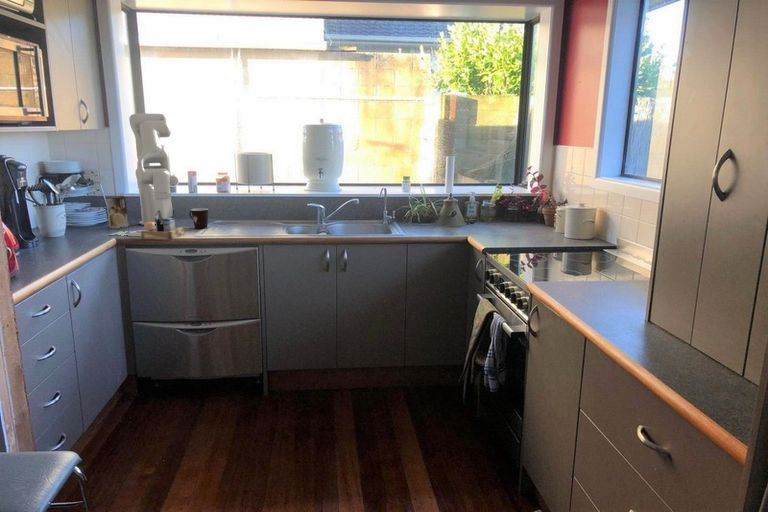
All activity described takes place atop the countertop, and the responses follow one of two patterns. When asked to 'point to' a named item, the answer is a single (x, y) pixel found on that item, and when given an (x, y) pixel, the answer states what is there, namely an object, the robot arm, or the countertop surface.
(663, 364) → the countertop surface
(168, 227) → the medicine box
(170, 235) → the cubby
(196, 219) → the coffee mug
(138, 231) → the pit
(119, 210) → the coffee box
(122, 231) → the board
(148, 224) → the peach rounded capsule
